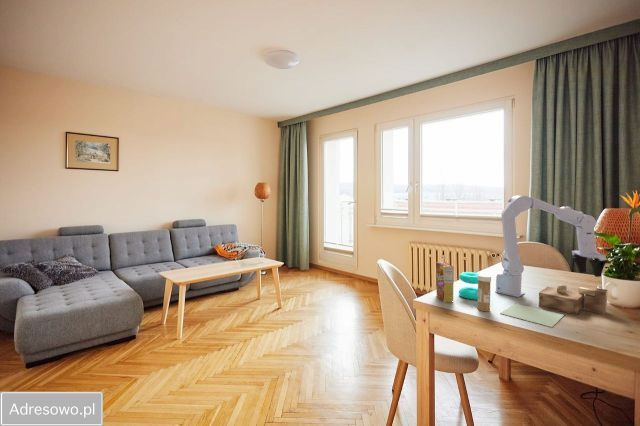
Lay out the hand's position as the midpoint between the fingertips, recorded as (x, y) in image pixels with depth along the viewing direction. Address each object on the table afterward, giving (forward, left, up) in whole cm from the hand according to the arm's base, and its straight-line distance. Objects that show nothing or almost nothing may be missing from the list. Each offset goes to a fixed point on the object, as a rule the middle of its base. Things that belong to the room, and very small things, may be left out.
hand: (590, 274), depth 133 cm
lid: (-5, -20, -6) cm, 22 cm away
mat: (-10, -38, -11) cm, 41 cm away
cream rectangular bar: (+3, -16, -5) cm, 17 cm away
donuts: (-34, -34, -11) cm, 50 cm away
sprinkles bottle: (-24, -46, -11) cm, 53 cm away
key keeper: (+4, -16, -11) cm, 19 cm away
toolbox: (-5, -20, -11) cm, 24 cm away
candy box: (-40, -46, -11) cm, 62 cm away
